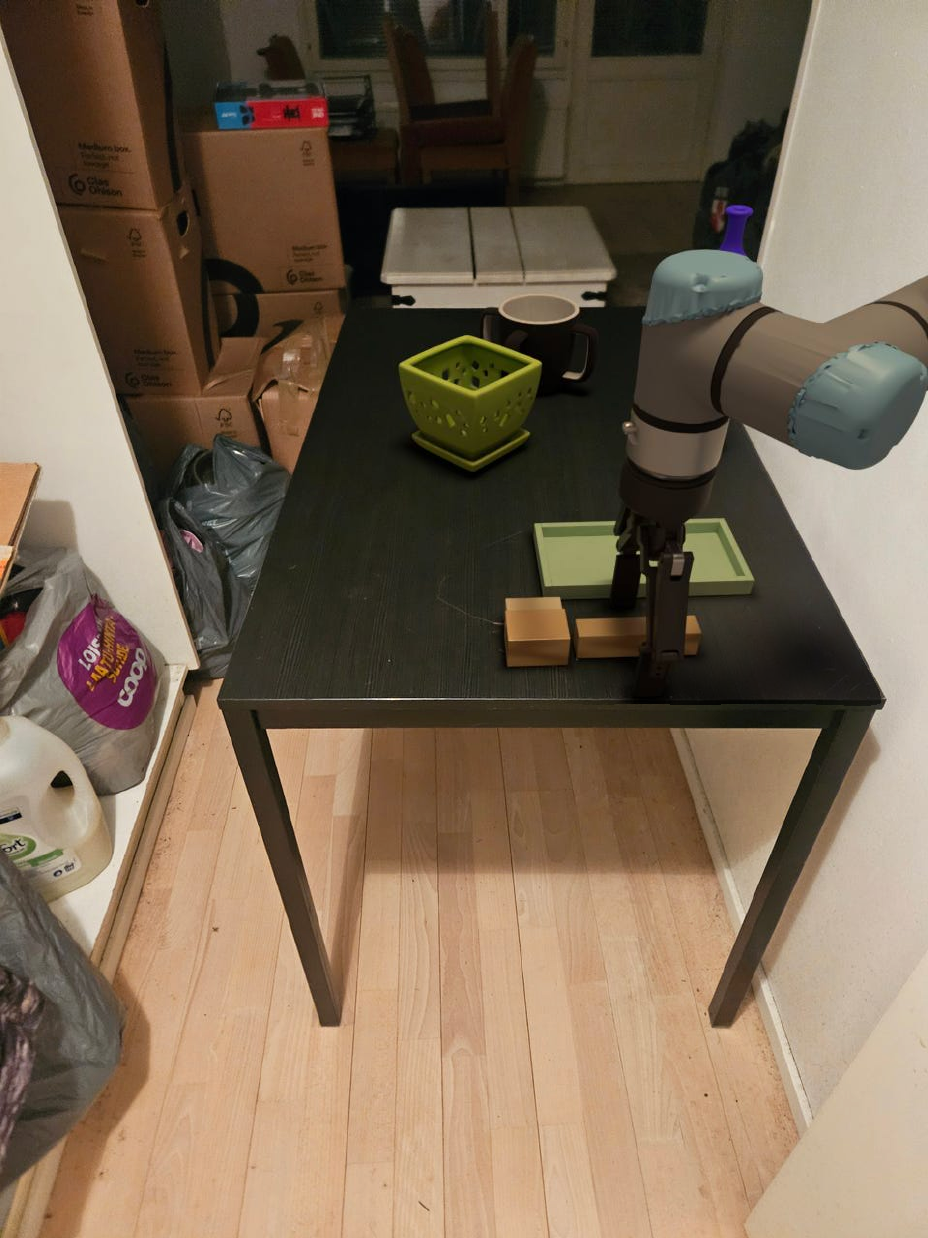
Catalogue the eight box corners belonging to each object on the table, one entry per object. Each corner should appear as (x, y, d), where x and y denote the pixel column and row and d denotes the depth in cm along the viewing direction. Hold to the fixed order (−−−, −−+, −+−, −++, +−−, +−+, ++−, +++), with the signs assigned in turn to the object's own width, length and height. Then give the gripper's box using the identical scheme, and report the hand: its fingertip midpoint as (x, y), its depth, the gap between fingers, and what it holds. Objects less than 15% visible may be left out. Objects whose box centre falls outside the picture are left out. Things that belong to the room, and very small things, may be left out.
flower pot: (473, 486, 100) (473, 395, 91) (400, 450, 107) (393, 363, 98) (541, 446, 107) (546, 358, 99) (468, 415, 114) (467, 330, 106)
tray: (720, 531, 92) (724, 517, 90) (750, 594, 83) (755, 580, 82) (533, 536, 91) (534, 523, 90) (543, 600, 83) (544, 586, 81)
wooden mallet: (682, 616, 81) (688, 590, 78) (698, 661, 76) (705, 634, 73) (502, 622, 80) (503, 595, 78) (507, 667, 75) (508, 640, 73)
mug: (597, 402, 117) (606, 324, 109) (494, 411, 115) (496, 332, 107) (570, 358, 129) (576, 284, 121) (476, 365, 127) (476, 291, 119)
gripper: (600, 392, 71) (579, 571, 86) (657, 549, 54) (618, 743, 68) (680, 390, 72) (645, 570, 86) (763, 546, 54) (702, 740, 68)
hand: (633, 646), depth 77 cm, fingers open, 12 cm apart
